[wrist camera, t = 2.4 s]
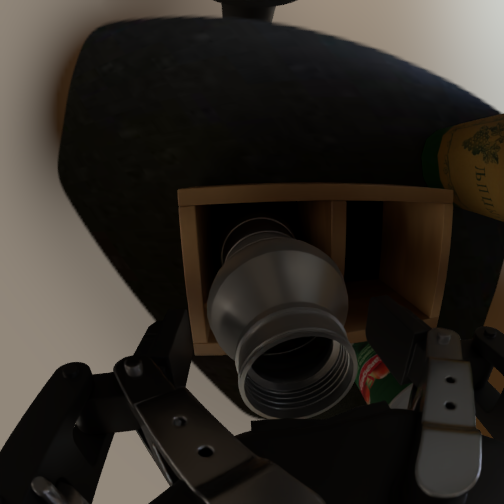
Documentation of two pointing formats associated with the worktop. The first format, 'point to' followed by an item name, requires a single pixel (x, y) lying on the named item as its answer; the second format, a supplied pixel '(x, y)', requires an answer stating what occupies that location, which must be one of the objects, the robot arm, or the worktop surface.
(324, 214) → the bottle rack
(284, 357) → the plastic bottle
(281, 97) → the worktop surface
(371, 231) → the worktop surface
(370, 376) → the canned tomato
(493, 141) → the bottle
